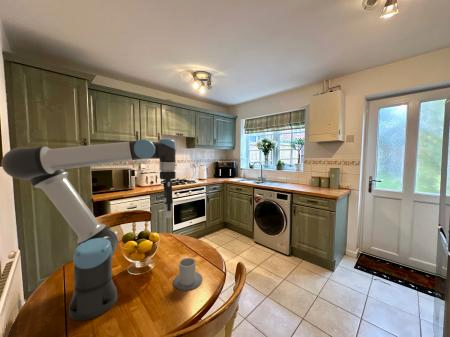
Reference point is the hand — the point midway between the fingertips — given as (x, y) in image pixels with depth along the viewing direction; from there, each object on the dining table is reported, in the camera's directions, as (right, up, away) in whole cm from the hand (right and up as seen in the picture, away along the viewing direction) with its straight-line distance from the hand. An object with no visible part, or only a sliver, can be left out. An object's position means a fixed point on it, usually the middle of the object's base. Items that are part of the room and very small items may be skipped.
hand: (167, 213), depth 94 cm
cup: (+11, -29, -7) cm, 32 cm away
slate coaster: (+11, -29, -7) cm, 32 cm away
